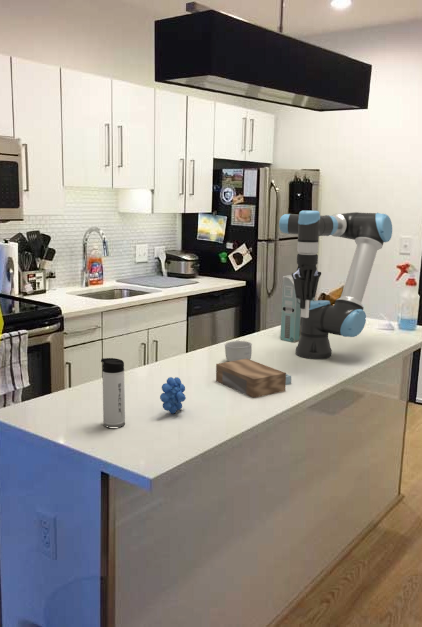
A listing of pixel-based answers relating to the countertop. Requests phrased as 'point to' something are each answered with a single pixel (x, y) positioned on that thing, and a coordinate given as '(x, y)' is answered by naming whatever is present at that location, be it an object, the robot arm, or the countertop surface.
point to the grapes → (172, 395)
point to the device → (290, 311)
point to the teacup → (238, 350)
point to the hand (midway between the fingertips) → (304, 317)
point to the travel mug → (113, 392)
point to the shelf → (250, 377)
